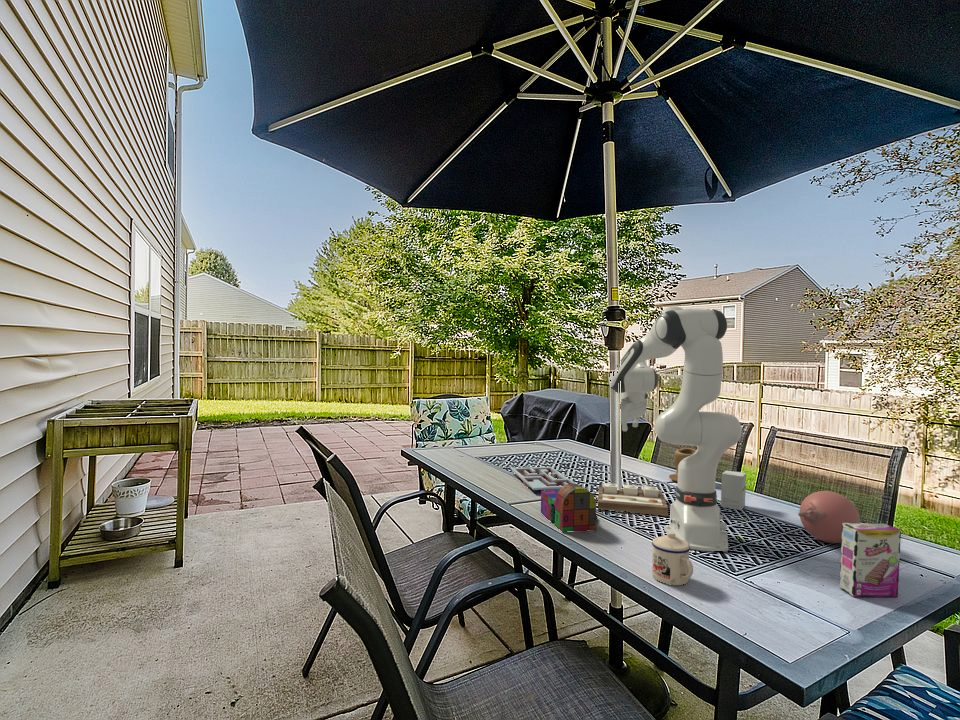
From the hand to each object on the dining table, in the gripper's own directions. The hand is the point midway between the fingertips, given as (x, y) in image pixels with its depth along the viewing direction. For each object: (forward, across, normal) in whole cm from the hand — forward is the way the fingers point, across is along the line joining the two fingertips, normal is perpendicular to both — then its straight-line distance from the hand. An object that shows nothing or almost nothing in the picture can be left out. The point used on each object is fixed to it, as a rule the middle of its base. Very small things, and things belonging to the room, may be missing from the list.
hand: (630, 428), depth 206 cm
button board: (+24, -16, -10) cm, 31 cm away
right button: (+22, -8, -14) cm, 28 cm away
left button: (+23, -15, -1) cm, 28 cm away
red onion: (+20, -11, -70) cm, 73 cm away
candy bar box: (+16, -43, -83) cm, 95 cm away
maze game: (+29, -14, +32) cm, 45 cm away
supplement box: (+24, +9, -39) cm, 47 cm away
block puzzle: (+23, -46, -2) cm, 52 cm away
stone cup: (+28, +34, -14) cm, 46 cm away
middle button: (+22, -12, -8) cm, 26 cm away
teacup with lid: (+17, -69, -46) cm, 85 cm away
